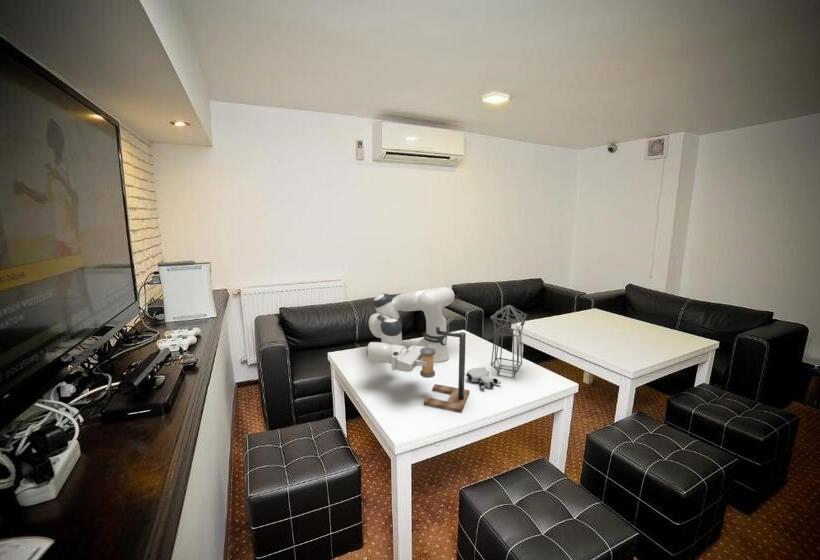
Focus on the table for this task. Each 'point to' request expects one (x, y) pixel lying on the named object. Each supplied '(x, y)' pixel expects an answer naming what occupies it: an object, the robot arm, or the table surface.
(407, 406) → the table surface
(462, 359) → the hook stand
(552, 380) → the table surface
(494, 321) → the geometric lantern
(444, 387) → the notched board
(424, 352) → the cord spool
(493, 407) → the table surface
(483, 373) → the robot toy
